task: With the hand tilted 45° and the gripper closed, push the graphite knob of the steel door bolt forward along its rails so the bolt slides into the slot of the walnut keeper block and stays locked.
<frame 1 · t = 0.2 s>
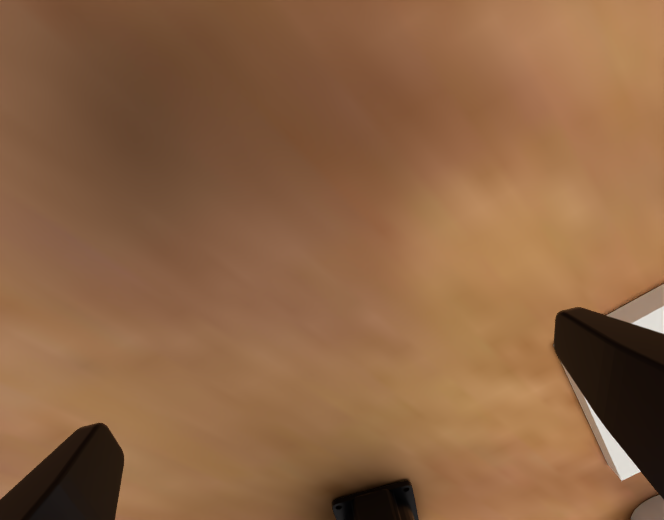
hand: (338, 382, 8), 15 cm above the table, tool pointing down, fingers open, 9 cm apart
cup: (653, 508, 39), on the table
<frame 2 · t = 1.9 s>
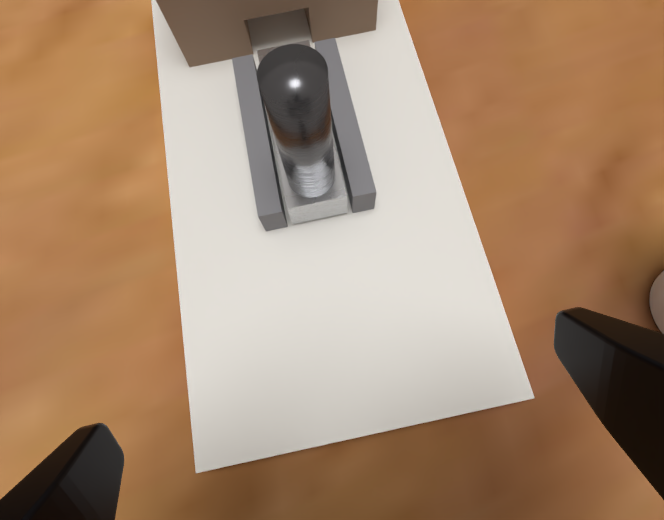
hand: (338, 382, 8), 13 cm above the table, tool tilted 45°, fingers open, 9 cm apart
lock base: (325, 246, 23), on the table
bolt: (292, 84, 19), point 6 cm above the table, slide at 0.0 cm
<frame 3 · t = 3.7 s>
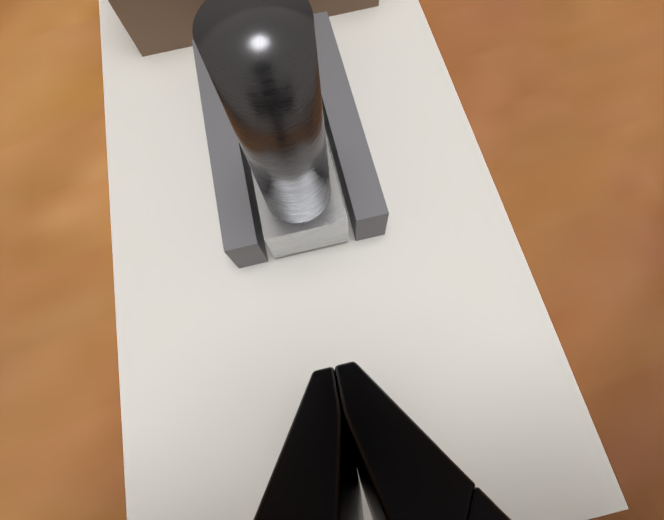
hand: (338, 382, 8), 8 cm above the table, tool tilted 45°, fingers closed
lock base: (320, 284, 17), on the table
bolt: (267, 64, 13), point 6 cm above the table, slide at 0.0 cm
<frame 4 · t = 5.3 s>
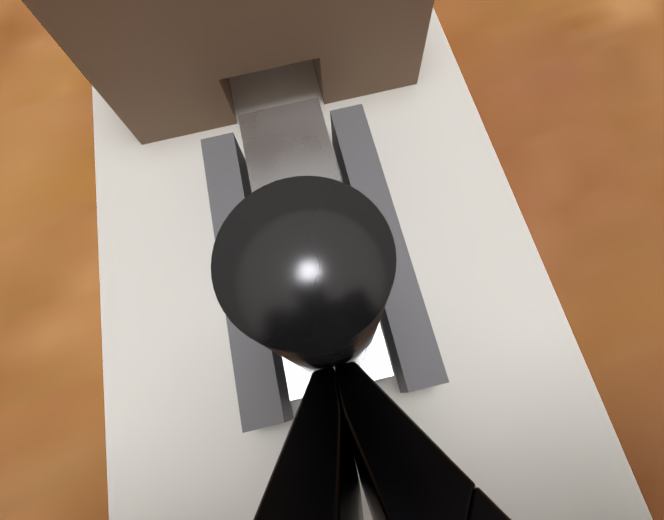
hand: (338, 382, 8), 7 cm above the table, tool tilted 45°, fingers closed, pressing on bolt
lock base: (354, 434, 14), on the table
bolt: (295, 191, 11), point 6 cm above the table, slide at 0.5 cm, touching gripper
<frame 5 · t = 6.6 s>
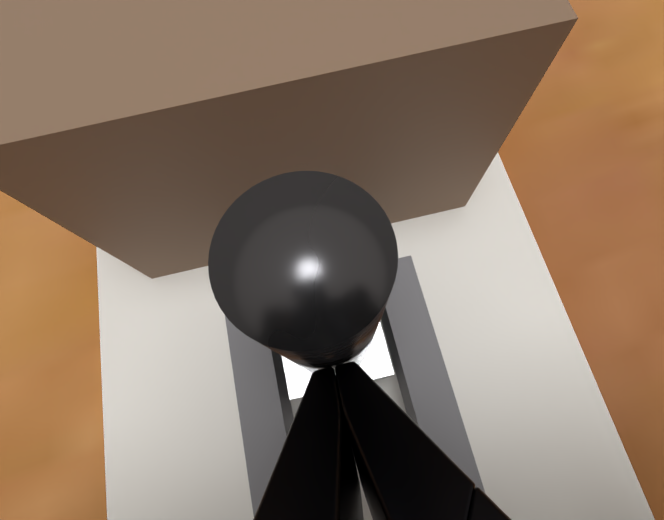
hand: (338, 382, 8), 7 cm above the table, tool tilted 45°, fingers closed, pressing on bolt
bolt: (295, 188, 10), point 6 cm above the table, slide at 6.7 cm, touching gripper
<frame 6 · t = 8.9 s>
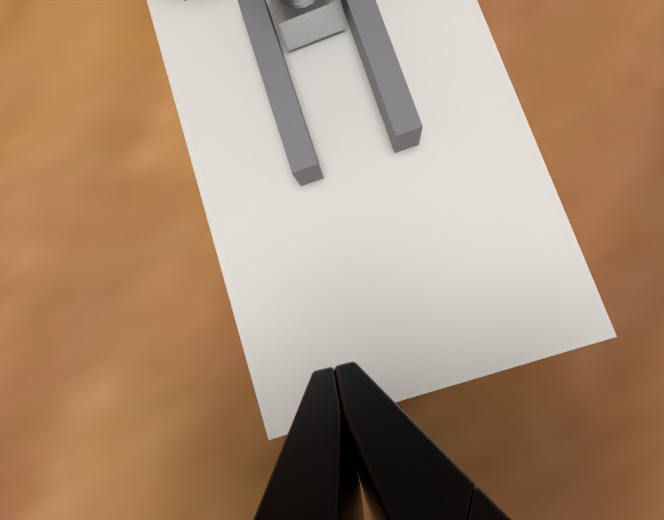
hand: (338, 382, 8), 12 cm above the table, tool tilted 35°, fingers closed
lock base: (366, 193, 21), on the table
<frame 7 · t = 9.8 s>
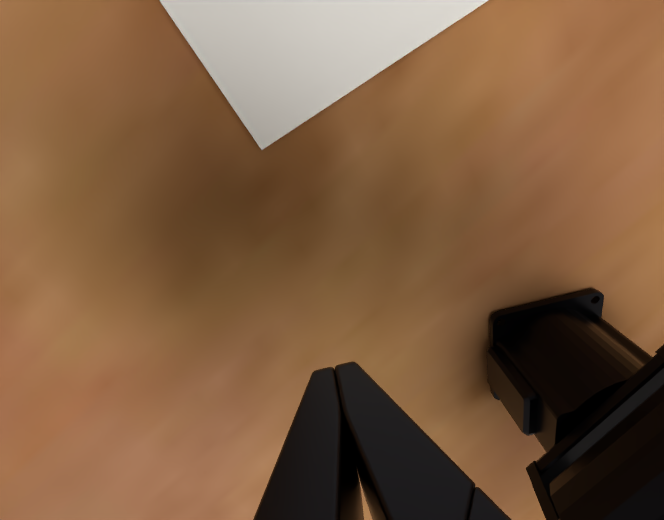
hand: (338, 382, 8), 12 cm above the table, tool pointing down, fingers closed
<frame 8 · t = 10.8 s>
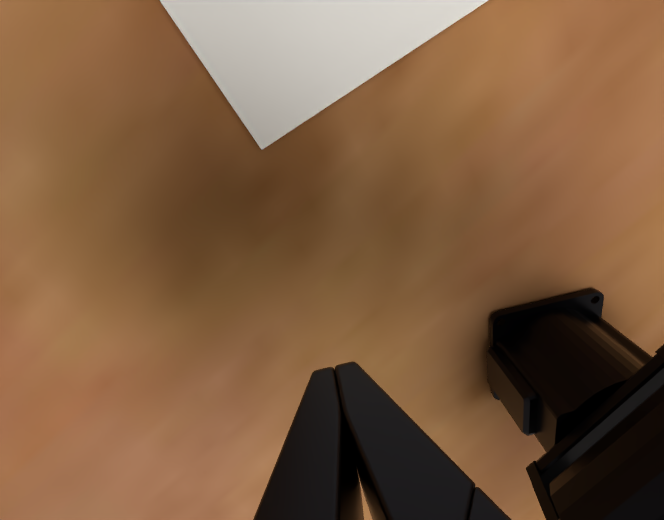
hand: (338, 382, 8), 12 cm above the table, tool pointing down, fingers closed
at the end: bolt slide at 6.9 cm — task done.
